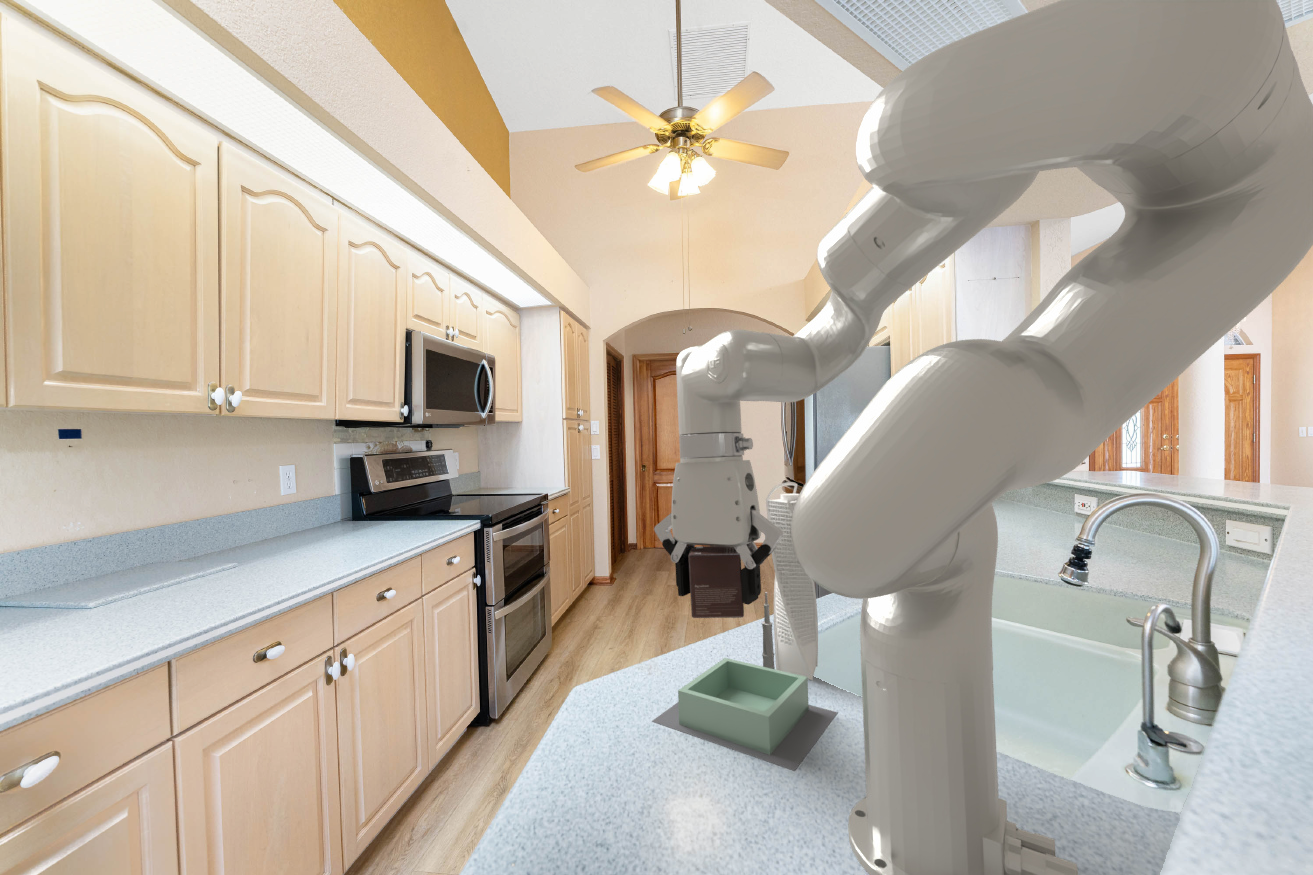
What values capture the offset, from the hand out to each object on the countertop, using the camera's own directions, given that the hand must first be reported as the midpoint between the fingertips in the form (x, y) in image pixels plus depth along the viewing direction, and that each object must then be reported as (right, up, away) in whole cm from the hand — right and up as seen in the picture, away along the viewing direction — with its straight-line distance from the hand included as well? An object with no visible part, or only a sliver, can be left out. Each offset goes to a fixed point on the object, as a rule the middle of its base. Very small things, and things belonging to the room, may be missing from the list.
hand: (717, 596), depth 63 cm
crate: (+4, -15, +1) cm, 16 cm away
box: (0, -2, 0) cm, 2 cm away
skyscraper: (+13, -16, +14) cm, 25 cm away
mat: (+4, -15, +1) cm, 16 cm away
